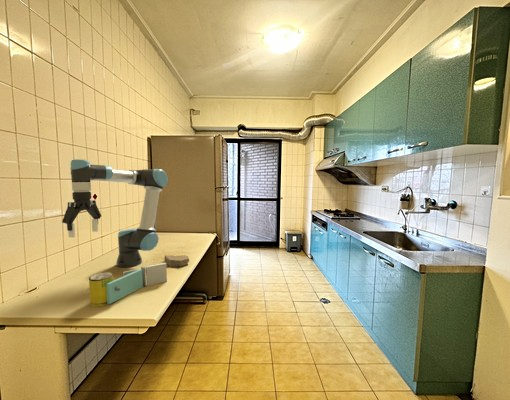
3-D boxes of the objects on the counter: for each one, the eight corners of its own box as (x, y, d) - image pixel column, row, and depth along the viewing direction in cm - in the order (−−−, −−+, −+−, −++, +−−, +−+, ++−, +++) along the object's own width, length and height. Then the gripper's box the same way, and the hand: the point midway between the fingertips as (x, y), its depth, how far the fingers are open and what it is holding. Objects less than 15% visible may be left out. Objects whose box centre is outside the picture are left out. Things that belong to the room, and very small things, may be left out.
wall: (123, 289, 124) (122, 269, 123) (165, 279, 136) (164, 261, 135) (124, 291, 121) (124, 271, 120) (166, 281, 133) (166, 263, 132)
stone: (190, 266, 157) (190, 259, 157) (165, 269, 152) (164, 262, 151) (187, 258, 173) (186, 252, 173) (164, 261, 167) (164, 254, 167)
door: (107, 303, 108) (106, 283, 107) (140, 286, 126) (139, 269, 125) (112, 304, 107) (111, 284, 106) (145, 287, 125) (144, 269, 124)
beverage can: (116, 296, 116) (115, 271, 115) (109, 305, 107) (108, 279, 106) (95, 298, 114) (94, 273, 113) (86, 307, 105) (85, 280, 104)
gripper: (95, 190, 132) (97, 229, 133) (50, 192, 107) (53, 239, 109) (107, 190, 131) (109, 229, 132) (64, 192, 106) (67, 240, 108)
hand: (84, 234), depth 120 cm, fingers open, 13 cm apart
